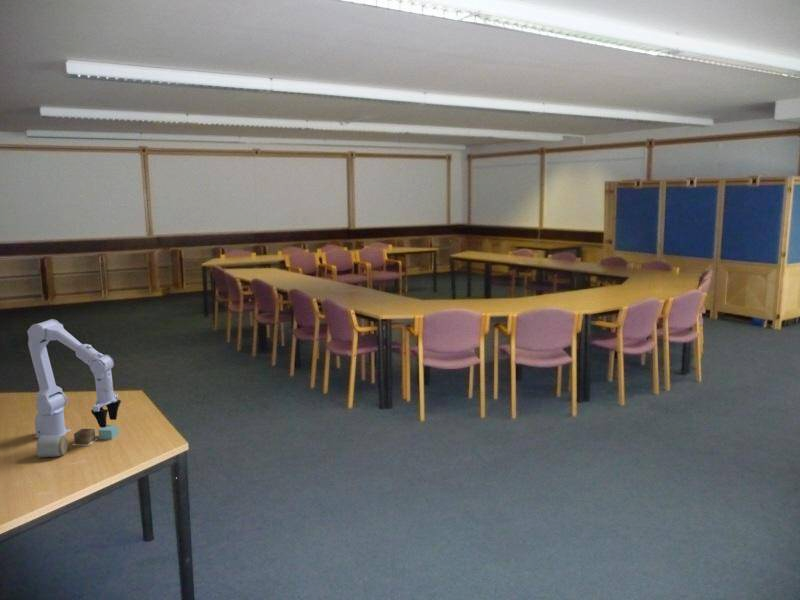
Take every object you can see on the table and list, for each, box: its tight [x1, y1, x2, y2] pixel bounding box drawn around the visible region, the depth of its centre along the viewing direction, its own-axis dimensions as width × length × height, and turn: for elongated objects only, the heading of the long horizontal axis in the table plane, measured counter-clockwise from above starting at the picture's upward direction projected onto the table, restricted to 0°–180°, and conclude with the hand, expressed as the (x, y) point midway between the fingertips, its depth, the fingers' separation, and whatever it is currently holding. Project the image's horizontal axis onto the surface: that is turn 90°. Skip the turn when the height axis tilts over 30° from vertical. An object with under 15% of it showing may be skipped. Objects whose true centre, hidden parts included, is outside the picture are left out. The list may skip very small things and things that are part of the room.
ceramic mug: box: [36, 435, 69, 458], centre depth 225 cm, size 11×8×8 cm
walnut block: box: [73, 428, 96, 444], centre depth 235 cm, size 5×5×4 cm
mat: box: [71, 437, 99, 446], centre depth 235 cm, size 10×9×1 cm
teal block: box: [97, 424, 120, 441], centre depth 240 cm, size 5×5×4 cm
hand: (108, 423), depth 239 cm, fingers open, 7 cm apart
